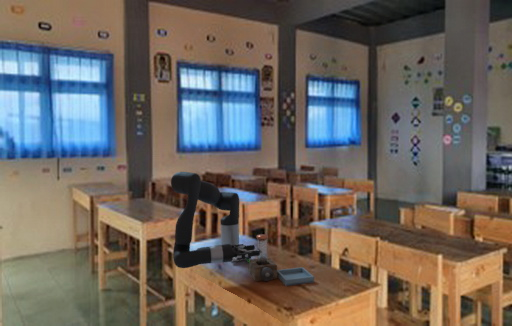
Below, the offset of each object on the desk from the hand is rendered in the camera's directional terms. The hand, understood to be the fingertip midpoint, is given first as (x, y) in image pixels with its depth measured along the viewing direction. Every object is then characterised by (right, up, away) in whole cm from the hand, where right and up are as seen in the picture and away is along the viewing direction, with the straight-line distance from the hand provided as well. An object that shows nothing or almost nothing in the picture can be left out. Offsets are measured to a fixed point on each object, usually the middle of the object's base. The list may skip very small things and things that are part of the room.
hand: (256, 250), depth 180 cm
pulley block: (+3, -12, 0) cm, 12 cm away
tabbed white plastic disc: (-6, -11, +21) cm, 24 cm away
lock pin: (+3, -9, +1) cm, 9 cm away
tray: (+16, -12, -3) cm, 20 cm away
